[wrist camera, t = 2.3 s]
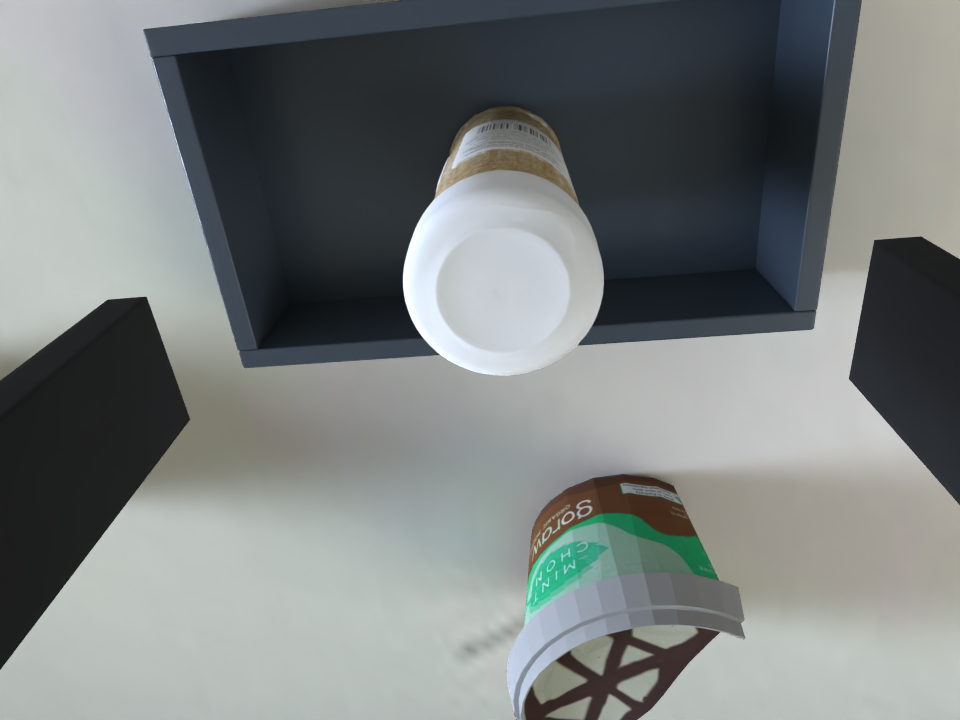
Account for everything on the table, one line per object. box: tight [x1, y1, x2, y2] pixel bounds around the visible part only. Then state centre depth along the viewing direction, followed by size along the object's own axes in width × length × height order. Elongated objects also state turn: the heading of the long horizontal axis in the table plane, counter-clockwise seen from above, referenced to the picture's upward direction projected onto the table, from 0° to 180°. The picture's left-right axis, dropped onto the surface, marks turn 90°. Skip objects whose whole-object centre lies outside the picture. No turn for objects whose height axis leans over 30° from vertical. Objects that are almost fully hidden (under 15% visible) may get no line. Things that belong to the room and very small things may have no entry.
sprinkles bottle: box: [403, 106, 604, 376], centre depth 21 cm, size 5×5×13 cm
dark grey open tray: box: [143, 0, 862, 368], centre depth 25 cm, size 12×22×5 cm, turn 96°
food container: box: [507, 475, 745, 720], centre depth 31 cm, size 12×6×10 cm, turn 153°
